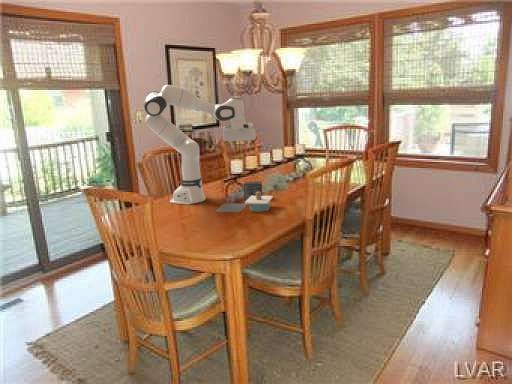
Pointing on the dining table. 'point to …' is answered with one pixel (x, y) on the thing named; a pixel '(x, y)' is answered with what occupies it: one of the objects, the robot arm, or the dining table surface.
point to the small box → (252, 188)
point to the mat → (231, 207)
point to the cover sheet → (263, 201)
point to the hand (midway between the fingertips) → (240, 147)
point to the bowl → (259, 207)
